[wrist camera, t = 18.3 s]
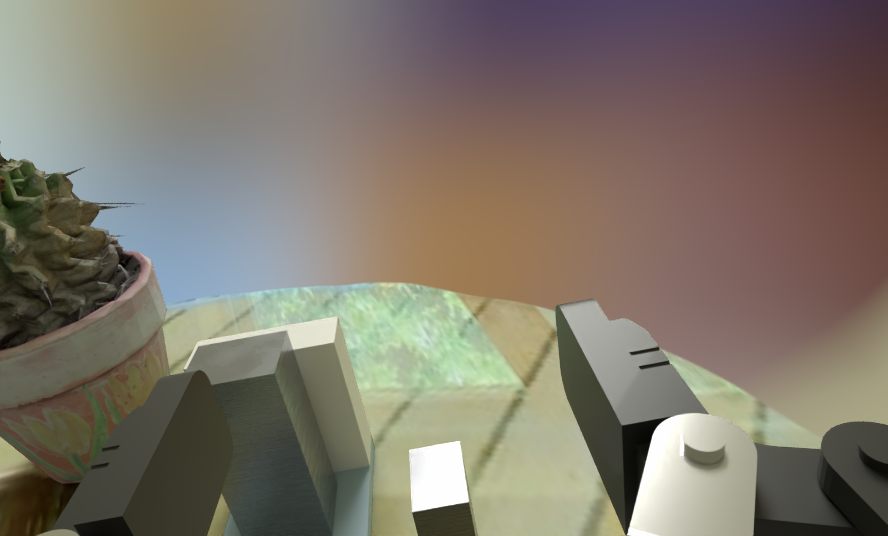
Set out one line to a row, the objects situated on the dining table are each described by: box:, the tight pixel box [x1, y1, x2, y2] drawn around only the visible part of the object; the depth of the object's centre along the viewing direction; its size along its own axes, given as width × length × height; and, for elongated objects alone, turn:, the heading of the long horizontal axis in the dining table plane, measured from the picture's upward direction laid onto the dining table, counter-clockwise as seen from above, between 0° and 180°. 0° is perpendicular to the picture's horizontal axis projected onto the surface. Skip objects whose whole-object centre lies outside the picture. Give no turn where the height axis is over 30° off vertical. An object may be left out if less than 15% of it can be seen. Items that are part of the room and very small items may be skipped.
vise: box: [183, 316, 374, 536], centre depth 30 cm, size 9×22×11 cm, turn 5°
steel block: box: [185, 330, 338, 536], centre depth 34 cm, size 5×4×12 cm
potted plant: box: [0, 154, 170, 484], centre depth 43 cm, size 18×20×25 cm
